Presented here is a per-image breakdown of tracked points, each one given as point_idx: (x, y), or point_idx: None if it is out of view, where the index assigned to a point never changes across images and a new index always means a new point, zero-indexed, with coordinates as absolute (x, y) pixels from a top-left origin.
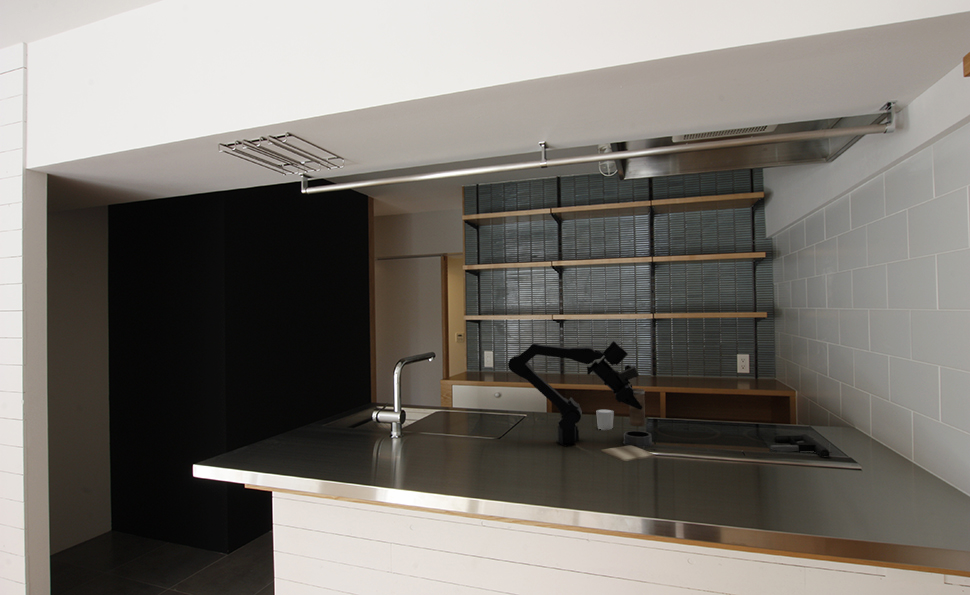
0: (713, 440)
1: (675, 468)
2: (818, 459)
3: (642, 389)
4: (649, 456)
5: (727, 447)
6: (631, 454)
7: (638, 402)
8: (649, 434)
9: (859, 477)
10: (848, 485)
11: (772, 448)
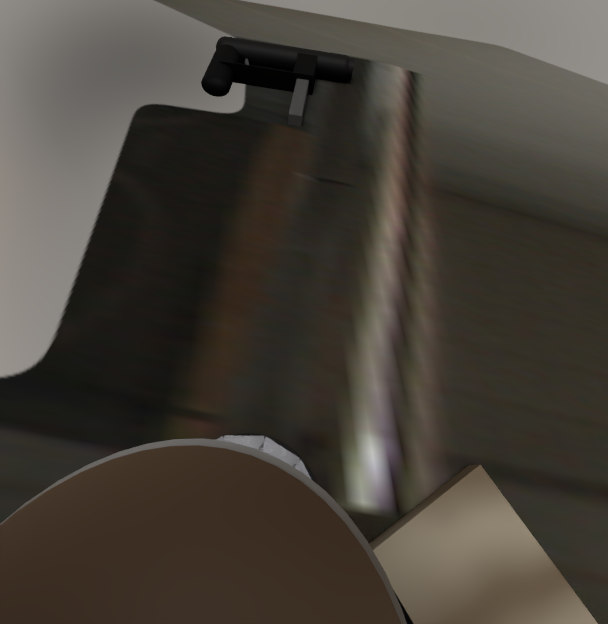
0: (184, 203)
1: (558, 406)
2: (360, 90)
3: (139, 490)
4: (502, 499)
5: (271, 195)
6: (523, 612)
7: (403, 607)
8: (251, 446)
9: (462, 89)
10: (517, 116)
11: (301, 120)
